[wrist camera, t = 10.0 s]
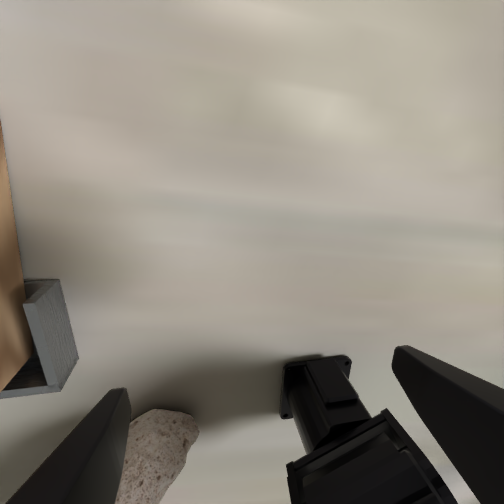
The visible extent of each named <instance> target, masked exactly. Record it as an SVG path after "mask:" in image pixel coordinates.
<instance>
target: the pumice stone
mask: <svg viewBox="0 0 504 504" xmlns="http://www.w3.org/2000/svg"><path fill="white" fill-rule="evenodd" d="M199 432H200V431H199V430H198V426H197V424H196V423H195V421H194V418H193V417H192V416H191V415H189V414H186V413H182V412H176V411H169V410H163V409H152V410H150V411H148V412H146V413H145V414H143V415H141V416H140V417H138V418H136V419H135V420H133V421H132V422H131V423H130V425H129V432H128V438H127V445H126V452H125V459H124V465H123V471H122V476H121V480H120V485H119V489H118V493H117V497H116V501H115V504H159V503H160V501H161V499H162V498H163V496H164V494H165V492H166V490H167V489H168V488H169V486H170V485H171V484H172V483H173V481H174V480H175V479H176V477H177V476H178V475H179V474H180V472H181V470H182V469H183V467H184V465H185V463H186V456H187V453H188V451H189V449H190V447H191V445H192V444H193V443H194V442H195V441H196V439H197V437H198V435H199Z"/></svg>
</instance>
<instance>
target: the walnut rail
mask: <svg viewBox="0 0 504 504" xmlns="http://www.w3.org/2000/svg"><path fill="white" fill-rule="evenodd" d="M25 301H26V295H25V288H24V281H23V274H22V267H21V260H20V253H19V246H18V239H17V232H16V225H15V218H14V212H13V205H12V198H11V191H10V184H9V177H8V170H7V163H6V156H5V149H4V142H3V135H2V128H1V121H0V392H1V391H2V390H3V389H4V388H5V386H6V385H7V384H8V383H9V382H10V380H11V379H12V378H13V377H14V376H15V375H16V373H17V372H18V371H19V370H20V369H21V367H22V366H23V365H24V364H25V363H26V361H27V360H28V359H29V358H30V357H31V355H32V354H33V353H34V350H33V343H32V336H31V330H30V327H29V323H28V320H27V317H26V314H25V311H24V308H23V303H24V302H25Z"/></svg>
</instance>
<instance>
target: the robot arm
mask: <svg viewBox="0 0 504 504" xmlns="http://www.w3.org/2000/svg"><path fill="white" fill-rule="evenodd" d="M351 364H352V361H351V359H350V358H349V357H348V356H342V357H334V358H326V359H318V360H310V361H302V362H294V363H288V364H286V365H285V366H284V367H283V377H282V388H281V400H280V412H279V413H280V417H281V418H282V419H290V418H294V421H295V423H296V426H297V429H298V432H299V434H300V437H301V440H302V443H303V446H304V448H305V451H306V454H307V455H305V456H303V457H302V458H300V459H298V460H296V461H295V462H293V461H292V462H290V463H288V464H286V468H287V473H288V477H287V481H288V487H289V493H290V499H291V504H458V503H457V501H456V499H455V498H454V496H453V495H452V493H451V491H450V490H449V488H448V487H447V485H446V484H445V482H444V481H443V479H442V478H441V476H440V475H439V474H438V472H437V471H436V469H435V468H434V466H433V465H432V464H431V462H430V461H429V460H428V458H427V457H426V456H425V455H424V453H423V452H422V451H421V450H420V448H419V447H418V446H417V445H416V443H415V442H414V441H413V440H412V438H411V437H410V436H409V435H408V434H407V432H406V431H405V430H404V429H403V427H402V426H401V425H400V424H399V423H398V421H397V420H396V419H395V418H394V416H393V415H392V414H391V413H390V412H389V410H388V409H387V408H386V409H384V410H382V411H381V413H380V414H378V415H376V416H375V417H373V418H372V417H371V416H370V414H369V412H368V411H367V409H366V408H365V406H364V405H363V403H362V402H361V400H360V399H359V396H358V394H357V392H356V391H355V389H354V388H353V386H352V384H351V383H350V381H349V380H348V379H349V374H350V369H351ZM288 369H289V370H288ZM392 370H393V373H394V374H395V376H396V378H397V379H398V381H399V383H400V385H401V386H402V388H403V390H404V391H405V393H406V395H407V397H408V398H409V400H410V402H411V403H412V405H413V407H414V409H415V410H416V412H417V413H418V415H419V416H420V418H421V419H422V421H423V422H424V424H425V425H426V427H427V428H428V429H429V431H430V432H431V434H432V435H433V437H434V438H435V439H436V441H437V442H438V444H439V445H440V447H441V448H442V449H443V451H444V452H445V454H446V455H447V457H448V458H449V459H450V461H451V462H452V464H453V465H454V466H455V468H456V469H457V471H458V472H459V474H460V475H461V476H462V478H463V479H464V481H465V482H466V484H467V485H468V486H469V488H470V489H471V491H472V492H473V493H474V495H475V496H476V498H477V499H478V501H479V502H480V503H481V504H504V389H502V388H500V387H498V386H496V385H494V384H492V383H489V382H487V381H485V380H483V379H481V378H478V377H476V376H474V375H472V374H470V373H467V372H465V371H463V370H461V369H459V368H457V367H454V366H452V365H450V364H448V363H446V362H443V361H441V360H439V359H437V358H435V357H433V356H430V355H428V354H426V353H424V352H422V351H419V350H417V349H415V348H413V347H411V346H408V345H404V346H398V347H396V348H395V350H394V355H393V360H392ZM130 418H131V405H130V401H129V397H128V392H127V389H126V388H124V387H122V388H116V389H111V390H110V391H109V392H108V393H107V394H106V395H105V396H104V397H103V398H102V399H101V400H100V401H99V403H98V404H97V405H96V406H95V407H94V408H93V409H92V410H91V411H90V412H89V413H88V415H87V416H86V417H85V418H84V419H83V420H82V421H81V422H80V423H79V424H78V425H77V426H76V428H75V429H74V430H73V431H72V432H71V433H70V434H69V435H68V436H67V437H66V438H65V439H64V441H63V442H62V443H61V444H60V445H59V446H58V447H57V448H56V449H55V450H54V451H53V453H52V454H51V455H50V456H49V457H48V458H47V459H46V460H45V461H44V462H43V463H42V464H41V466H40V467H39V468H38V469H37V470H36V471H35V472H34V473H33V474H32V475H31V476H30V477H29V479H28V480H27V481H26V482H25V483H24V484H23V485H22V486H21V487H20V488H19V489H18V491H17V492H16V493H15V494H14V495H13V496H12V497H11V498H10V499H9V500H8V501H7V502H6V504H115V501H116V497H117V493H118V489H119V485H120V480H121V476H122V471H123V465H124V459H125V452H126V445H127V438H128V432H129V425H130Z"/></svg>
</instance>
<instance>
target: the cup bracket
mask: <svg viewBox="0 0 504 504" xmlns="http://www.w3.org/2000/svg"><path fill="white" fill-rule="evenodd" d="M24 288H25V295H26V301H25V302H24V303H23V308H24V311H25V314H26V317H27V320H28V323H29V327H30V330H31V336H32V343H33V350H34V353H33V354H32V355H31V357H30V358H29V359H28V360H27V361H26V363H25V364H24V365H23V366H22V367H21V369H20V370H19V371H18V372H17V373H16V375H15V376H14V377H13V378H12V379H11V380H10V382H9V383H8V384H7V385H6V386H5V388H4V389H3V390H2V391H1V392H0V399H3V398H12V397H20V396H28V395H36V394H44V393H52V392H60V391H61V390H62V388H63V386H64V384H65V383H66V381H67V379H68V377H69V375H70V374H71V372H72V370H73V368H74V366H75V365H76V363H77V361H78V359H79V357H78V353H77V349H76V345H75V341H74V337H73V333H72V329H71V325H70V321H69V317H68V313H67V309H66V305H65V301H64V297H63V293H62V289H61V285H60V281H59V279H58V280H40V281H24Z"/></svg>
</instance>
